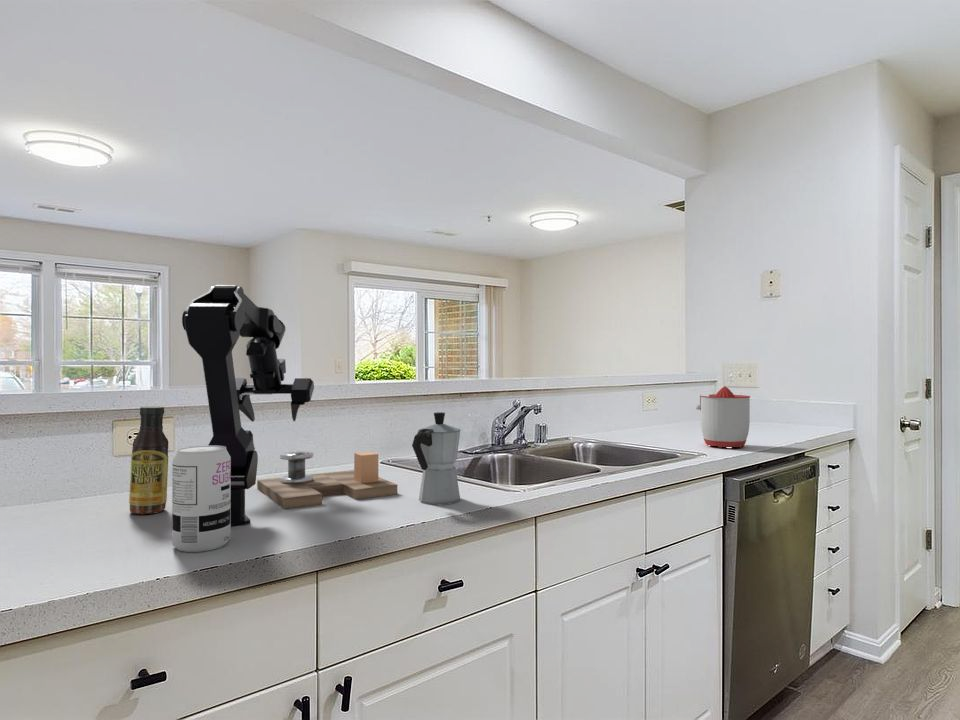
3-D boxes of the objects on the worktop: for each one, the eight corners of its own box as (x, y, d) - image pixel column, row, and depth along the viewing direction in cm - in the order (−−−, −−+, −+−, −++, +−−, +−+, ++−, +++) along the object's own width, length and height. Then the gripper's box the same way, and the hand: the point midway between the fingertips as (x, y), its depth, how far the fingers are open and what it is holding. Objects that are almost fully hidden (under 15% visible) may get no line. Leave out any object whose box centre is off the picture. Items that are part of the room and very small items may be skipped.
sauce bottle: (124, 516, 112) (124, 408, 112) (134, 508, 118) (134, 405, 118) (164, 514, 113) (164, 407, 113) (171, 506, 119) (171, 405, 119)
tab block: (378, 481, 134) (378, 454, 134) (361, 483, 132) (361, 455, 132) (371, 478, 138) (371, 451, 138) (354, 480, 136) (354, 453, 136)
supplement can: (175, 540, 97) (175, 446, 97) (231, 535, 100) (231, 443, 100) (168, 556, 90) (168, 453, 90) (229, 550, 92) (229, 450, 92)
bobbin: (317, 481, 134) (317, 454, 134) (285, 485, 130) (285, 457, 130) (307, 476, 140) (307, 450, 140) (276, 480, 136) (276, 453, 136)
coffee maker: (439, 491, 133) (439, 409, 133) (473, 496, 129) (473, 410, 129) (396, 505, 120) (396, 414, 120) (432, 511, 116) (432, 416, 116)
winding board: (397, 493, 131) (397, 484, 131) (283, 508, 118) (283, 498, 118) (359, 477, 149) (359, 469, 149) (257, 488, 136) (257, 479, 136)
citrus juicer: (710, 441, 215) (710, 384, 215) (759, 447, 202) (759, 386, 202) (685, 445, 205) (685, 386, 205) (735, 451, 192) (735, 387, 192)
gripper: (314, 343, 138) (321, 399, 147) (229, 343, 137) (241, 399, 145) (305, 370, 129) (313, 428, 137) (214, 370, 128) (228, 429, 136)
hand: (274, 420), depth 139 cm, fingers open, 9 cm apart
